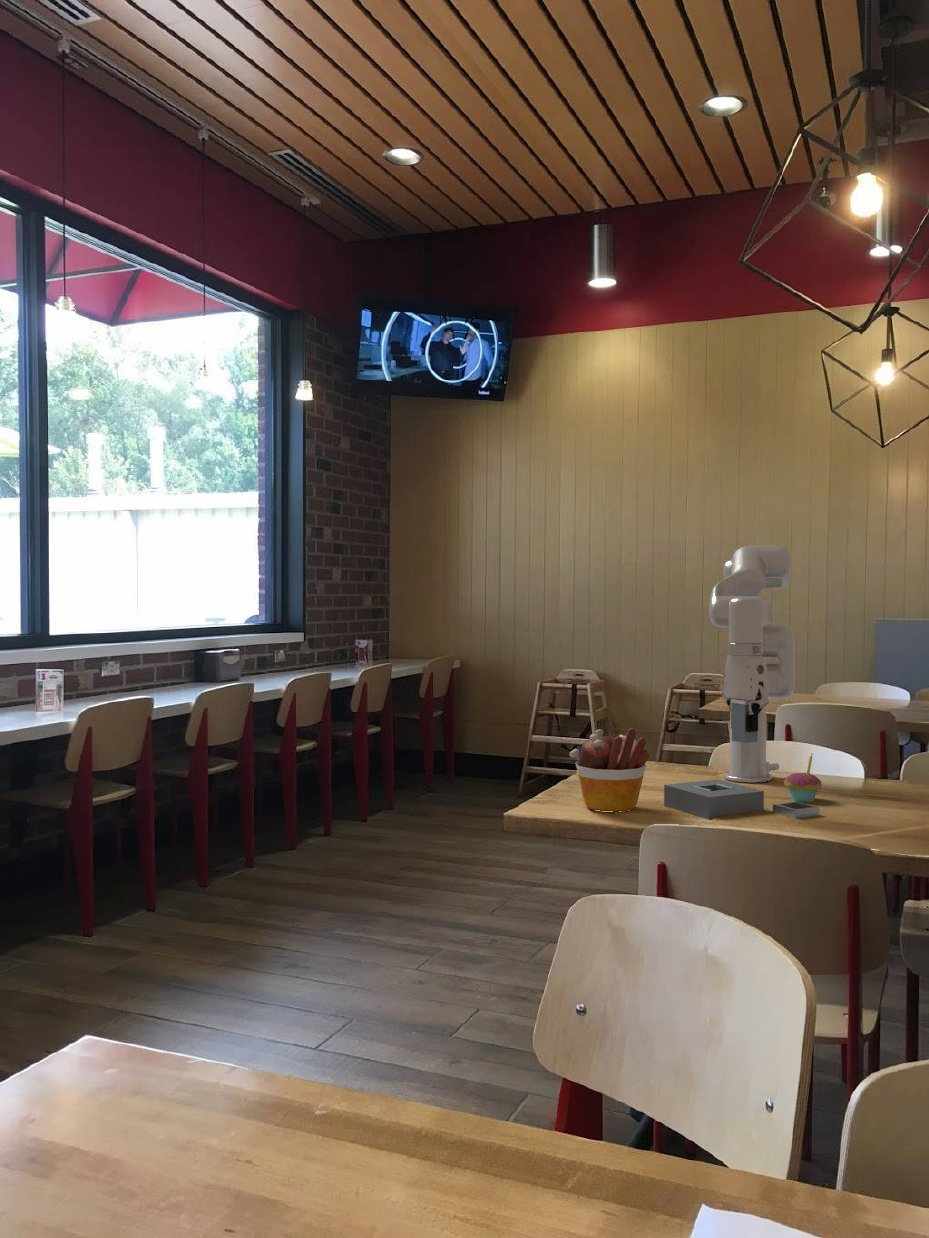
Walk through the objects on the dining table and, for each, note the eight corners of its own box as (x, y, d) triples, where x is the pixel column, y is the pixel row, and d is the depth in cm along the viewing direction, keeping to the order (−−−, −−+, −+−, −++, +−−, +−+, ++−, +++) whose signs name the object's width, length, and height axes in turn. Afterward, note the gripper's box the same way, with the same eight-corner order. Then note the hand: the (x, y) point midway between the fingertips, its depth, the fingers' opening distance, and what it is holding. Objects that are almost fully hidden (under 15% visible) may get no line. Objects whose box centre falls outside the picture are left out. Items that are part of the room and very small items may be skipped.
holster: (796, 811, 231) (796, 801, 231) (819, 817, 224) (819, 807, 224) (772, 814, 228) (772, 804, 228) (795, 821, 221) (795, 810, 221)
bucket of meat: (560, 802, 240) (560, 720, 240) (620, 797, 246) (620, 717, 246) (601, 820, 221) (601, 730, 221) (665, 814, 228) (665, 727, 227)
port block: (717, 799, 244) (717, 778, 244) (763, 812, 230) (763, 790, 229) (664, 805, 237) (664, 783, 237) (708, 819, 222) (709, 796, 222)
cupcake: (821, 799, 244) (821, 751, 244) (821, 806, 236) (822, 756, 236) (784, 797, 247) (784, 749, 247) (783, 804, 239) (784, 754, 239)
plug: (744, 739, 233) (745, 698, 233) (758, 741, 229) (758, 700, 229) (731, 740, 231) (731, 699, 231) (744, 743, 227) (744, 701, 227)
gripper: (784, 652, 224) (783, 733, 224) (731, 648, 239) (731, 724, 239) (759, 653, 220) (759, 736, 221) (707, 649, 235) (707, 727, 236)
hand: (744, 729), depth 230 cm, fingers closed on plug, 4 cm apart
